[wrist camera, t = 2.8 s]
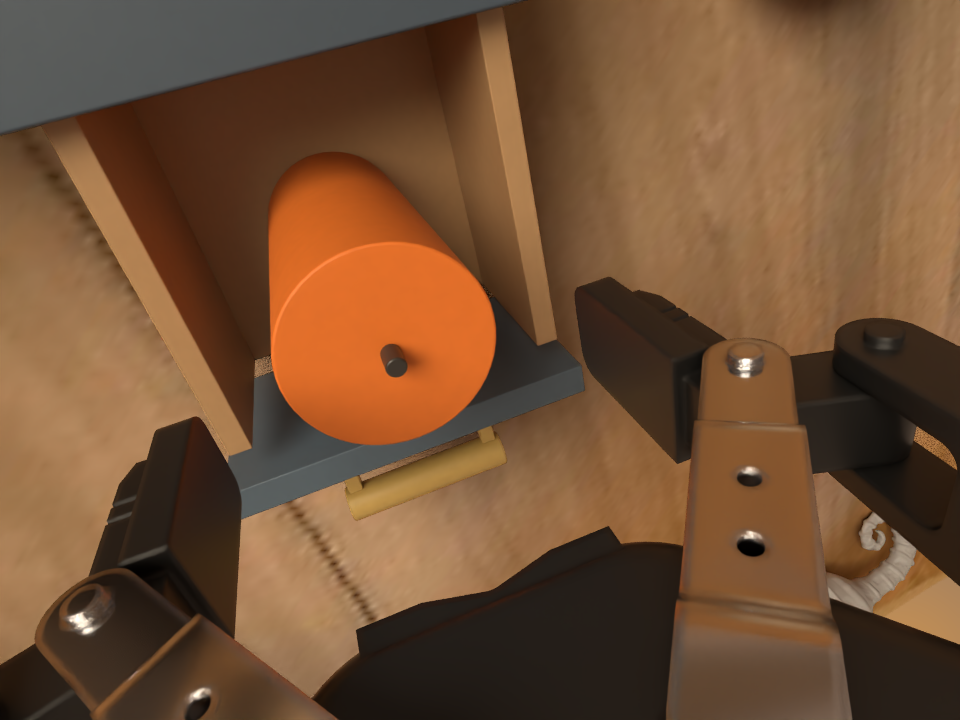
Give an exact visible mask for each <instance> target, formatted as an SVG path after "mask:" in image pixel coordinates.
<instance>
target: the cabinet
mask: <svg viewBox="0 0 960 720" xmlns="http://www.w3.org/2000/svg"><path fill="white" fill-rule="evenodd" d="M523 1H527V0H0V136H2V135H6V134H10V133H13V132H17V131H21V130H25V129H29V128H33V127H37V126H41V125H44V124H48V123H52V122H56V121H60V120H64V119H68V118H72V117H76V116H79V115H83V114H87V113H91V112H95V111H99V110H103V109H107V108H111V107H114V106H118V105H122V104H126V103H130V102H134V101H138V100H142V99H146V98H149V97H153V96H157V95H161V94H165V93H169V92H173V91H177V90H181V89H184V88H188V87H192V86H196V85H200V84H204V83H208V82H212V81H216V80H219V79H223V78H227V77H231V76H235V75H239V74H243V73H247V72H251V71H254V70H258V69H262V68H266V67H270V66H274V65H278V64H282V63H286V62H289V61H293V60H297V59H301V58H305V57H309V56H313V55H317V54H321V53H324V52H328V51H332V50H336V49H340V48H344V47H348V46H352V45H356V44H359V43H363V42H367V41H371V40H375V39H379V38H383V37H387V36H390V35H394V34H398V33H402V32H406V31H410V30H414V29H418V28H422V27H425V26H429V25H433V24H437V23H441V22H445V21H449V20H453V19H457V18H460V17H464V16H468V15H472V14H476V13H480V12H484V11H488V10H492V9H495V8H499V7H503V6H507V5H511V4H515V3H519V2H523Z"/></svg>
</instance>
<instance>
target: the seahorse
mask: <svg viewBox="0 0 960 720" xmlns="http://www.w3.org/2000/svg"><path fill="white" fill-rule="evenodd" d="M883 522H885V521H884V520H882V519H881V518H880V517H879V516H878V515H877V514H875V513H874V512H872V513H871V515H870V516H869V517H868V518H867V519H866V520H863V526H862V529H861V530H860V531H859V535H860V539H861V545H862V547H863V548H865V549H867V550H877V551H878V550H880V549H881V547H882V546H883V545H884V543H885V541H886V539H885V535H884V533H883V532H882V531H881V530H876V532H877V533H878V537H877V541H875V540H874V539H872V534H873V531H872V530H873V529H875V528H876V525H877V524H878V523H880V524H881V523H883ZM891 531H892V533H893V534H894V536H893V537H892V540H893V541H894V545H893V547H892V548H890V549H889V551H890V554H889V557H888V558H887V559H886V560H884V561H881V562H880V564H879V566H878V567H877V568H876V569H873V570H871V571H869V574H868V575H866V576H864V577H861V578H854V579H853V580H848V579H846V578H844V577H842V576H839V575H835V574H832V573H828V572H826V577H827V585H828V592H829V597H830V598H832V599H835V600H838V601H841V602H843V603H846V604H849V605H852V606H854V607H857V608H860V609H863V610H866V611H868V612H871V613H873V606H874V604H875V603H876V602H877V601H879V600H881V597H882V596H883V595H884V594H885V593H887V592H889V591H890V590H895V586H896V585H897V584H898V582H900V581H903V580H905V576H906V574H907V573H908V571H909V569H910V567H911V566H913V565H914V561H913V559H914V557H915V554H916V550H917V549H916V548H915V547H914V546H912V545H911V544H910V543H909V542H908V541H907V540H906V539H904V538H903V537H902V536H901V535H900V534H899V533H897V532H896V531H895V530H894V529H893V528H892V527H891Z"/></svg>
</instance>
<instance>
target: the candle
mask: <svg viewBox="0 0 960 720" xmlns="http://www.w3.org/2000/svg"><path fill="white" fill-rule="evenodd" d="M268 239H269V285H270V332H271V360H272V367H273V372H274V376H275V379H276V382H277V384H278V387H279V389H280V391H281V393H282V395H283V396H284V398H285V400H286V401H287V403H288V404H289V405H290V406H291V408H292V409H293V410H294V411H295V412H296V413H297V414H298V415H299V416H300V417H301V418H302V419H303V420H304V421H305V422H307V423H308V424H310V425H311V426H312V427H314V428H315V429H317V430H319V431H321V432H322V433H324V434H326V435H328V436H331V437H334V438H336V439H339V440H342V441H346V442H350V443H355V444H363V445H387V444H395V443H400V442H405V441H409V440H412V439H415V438H419V437H421V436H423V435H426V434H428V433H430V432H433V431H434V430H436V429H438V428H440V427H441V426H443V425H445V424H446V423H447V422H449V421H450V420H452V419H453V418H454V417H456V416H457V415H458V414H459V413H460V412H461V411H462V410H463V409H465V407H466V406H467V405H468V404H469V403H470V402H471V401H472V400H473V398H474V397H475V396H476V394H477V393H478V391H479V390H480V389H481V387H482V385H483V383H484V381H485V380H486V378H487V375H488V373H489V370H490V368H491V365H492V361H493V358H494V354H495V346H496V323H495V317H494V313H493V309H492V306H491V303H490V301H489V298H488V296H487V294H486V292H485V290H484V289H483V287H482V286H481V284H480V283H479V281H478V280H477V279H476V278H475V276H474V275H473V274H472V273H471V272H470V271H469V270H468V268H467V267H466V266H465V265H464V264H463V263H462V262H461V261H460V259H459V258H458V257H457V256H456V255H455V254H454V253H453V251H452V250H451V249H450V248H449V247H448V246H447V245H446V244H445V242H444V241H443V240H442V239H441V238H440V237H439V236H438V234H437V233H436V232H435V231H434V230H433V229H432V228H431V226H430V225H429V224H428V223H427V222H426V221H425V220H424V219H423V217H422V216H421V215H420V214H419V213H418V212H417V211H416V209H415V208H414V207H413V206H412V205H411V204H410V203H409V202H408V200H407V199H406V198H405V197H404V196H403V195H402V194H401V192H400V191H399V190H398V189H397V188H396V187H395V186H394V185H393V183H392V182H391V181H390V180H389V179H388V178H387V177H386V176H385V174H384V173H383V172H382V171H381V170H380V169H378V168H377V167H376V166H375V165H373V164H372V163H370V162H369V161H367V160H365V159H363V158H361V157H359V156H356V155H353V154H349V153H344V152H322V153H318V154H314V155H311V156H308V157H305V158H304V159H302V160H300V161H298V162H296V163H295V164H294V165H292V166H291V167H290V168H289V169H288V170H287V171H286V172H285V173H284V174H283V175H282V176H281V178H280V179H279V180H278V182H277V184H276V185H275V187H274V189H273V192H272V194H271V197H270V202H269V208H268Z"/></svg>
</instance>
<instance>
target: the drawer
mask: <svg viewBox="0 0 960 720" xmlns="http://www.w3.org/2000/svg"><path fill="white" fill-rule="evenodd" d="M41 127H42V128H43V130H44V132H45V134H46V135H47V137H48V139H49V141H50V142H51V144H52V146H53V148H54V149H55V151H56V153H57V155H58V156H59V158H60V160H61V162H62V163H63V165H64V167H65V169H66V170H67V172H68V174H69V176H70V177H71V179H72V181H73V183H74V184H75V186H76V188H77V190H78V191H79V193H80V195H81V197H82V199H83V200H84V202H85V204H86V206H87V207H88V209H89V211H90V213H91V214H92V216H93V218H94V220H95V221H96V223H97V225H98V227H99V228H100V230H101V232H102V234H103V235H104V237H105V239H106V241H107V242H108V244H109V246H110V248H111V249H112V251H113V253H114V255H115V256H116V258H117V260H118V262H119V263H120V265H121V267H122V269H123V271H124V272H125V274H126V276H127V278H128V279H129V281H130V283H131V285H132V286H133V288H134V290H135V292H136V293H137V295H138V297H139V299H140V300H141V302H142V304H143V306H144V307H145V309H146V311H147V313H148V314H149V316H150V318H151V320H152V321H153V323H154V325H155V327H156V328H157V330H158V332H159V334H160V335H161V337H162V339H163V341H164V343H165V344H166V346H167V348H168V350H169V351H170V353H171V355H172V357H173V358H174V360H175V362H176V364H177V365H178V367H179V369H180V371H181V372H182V374H183V376H184V378H185V379H186V381H187V383H188V385H189V386H190V388H191V390H192V392H193V393H194V395H195V397H196V399H197V400H198V402H199V404H200V406H201V407H202V409H203V411H204V413H205V415H206V416H207V418H208V420H209V422H210V423H211V425H212V427H213V429H214V430H215V432H216V434H217V436H218V437H219V439H220V441H221V443H222V444H223V446H224V448H225V450H226V451H227V453H228V455H229V458H228V465H229V467H230V469H231V470H232V472H233V474H234V476H235V478H236V480H237V483H238V486H239V489H240V493H241V499H242V511H241V519H244V518H246V517H249V516H252V515H254V514H257V513H260V512H262V511H265V510H268V509H270V508H273V507H276V506H278V505H281V504H284V503H286V502H289V501H292V500H294V499H297V498H300V497H302V496H305V495H308V494H310V493H313V492H316V491H318V490H321V489H324V488H326V487H329V486H332V485H334V484H337V483H340V482H342V481H344V482H345V484H346V486H347V487H346V488H345V495H346V499H347V502H348V505H349V508H350V511H351V513H352V516H353V518H354V519H355V520H356V521H358V520H361V519H363V518H366V517H368V516H371V515H373V514H376V513H379V512H381V511H384V510H386V509H389V508H392V507H394V506H397V505H399V504H402V503H404V502H407V501H410V500H412V499H415V498H417V497H420V496H423V495H425V494H428V493H430V492H433V491H435V490H438V489H441V488H443V487H446V486H448V485H451V484H454V483H456V482H459V481H461V480H464V479H466V478H469V477H472V476H474V475H477V474H479V473H482V472H484V471H487V470H490V469H492V468H495V467H497V466H500V465H503V464H505V463H507V457H506V454H505V450H504V447H503V445H502V442H501V440H500V438H499V436H498V434H497V433H496V432H493V428H492V425H494V424H497V423H500V422H502V421H505V420H508V419H510V418H513V417H516V416H518V415H521V414H524V413H526V412H529V411H532V410H534V409H537V408H540V407H542V406H545V405H548V404H550V403H553V402H556V401H558V400H561V399H564V398H566V397H569V396H572V395H574V394H577V393H580V392H582V391H585V386H584V379H583V373H582V366H581V364H580V363H579V362H578V361H577V360H576V359H575V358H574V357H573V356H572V355H571V354H570V353H569V352H568V351H567V350H566V349H565V348H564V347H563V346H562V345H561V344H560V343H559V342H558V341H557V340H556V339H557V334H556V328H555V322H554V316H553V310H552V304H551V298H550V292H549V285H548V279H547V273H546V267H545V261H544V255H543V249H542V243H541V237H540V231H539V225H538V219H537V213H536V206H535V200H534V194H533V188H532V182H531V176H530V170H529V164H528V158H527V152H526V146H525V140H524V134H523V127H522V121H521V115H520V109H519V103H518V97H517V91H516V85H515V79H514V73H513V67H512V61H511V55H510V48H509V42H508V36H507V30H506V24H505V18H504V12H503V7H499V8H495V9H492V10H488V11H484V12H480V13H476V14H472V15H468V16H464V17H460V18H457V19H453V20H449V21H445V22H441V23H437V24H433V25H429V26H425V27H422V28H418V29H414V30H410V31H406V32H402V33H398V34H394V35H390V36H387V37H383V38H379V39H375V40H371V41H367V42H363V43H359V44H356V45H352V46H348V47H344V48H340V49H336V50H332V51H328V52H324V53H321V54H317V55H313V56H309V57H305V58H301V59H297V60H293V61H289V62H286V63H282V64H278V65H274V66H270V67H266V68H262V69H258V70H254V71H251V72H247V73H243V74H239V75H235V76H231V77H227V78H223V79H219V80H216V81H212V82H208V83H204V84H200V85H196V86H192V87H188V88H184V89H181V90H177V91H173V92H169V93H165V94H161V95H157V96H153V97H149V98H146V99H142V100H138V101H134V102H130V103H126V104H122V105H118V106H114V107H111V108H107V109H103V110H99V111H95V112H91V113H87V114H83V115H79V116H76V117H72V118H68V119H64V120H60V121H56V122H52V123H48V124H44V125H41ZM322 152H344V153H349V154H353V155H356V156H359V157H361V158H363V159H365V160H367V161H369V162H370V163H372V164H373V165H375V166H376V167H377V168H378V169H380V170H381V171H382V172H383V173H384V174H385V176H386V177H387V178H388V179H389V180H390V181H391V182H392V183H393V185H394V186H395V187H396V188H397V189H398V190H399V191H400V192H401V194H402V195H403V196H404V197H405V198H406V199H407V200H408V202H409V203H410V204H411V205H412V206H413V207H414V208H415V209H416V211H417V212H418V213H419V214H420V215H421V216H422V217H423V219H424V220H425V221H426V222H427V223H428V224H429V225H430V226H431V228H432V229H433V230H434V231H435V232H436V233H437V234H438V236H439V237H440V238H441V239H442V240H443V241H444V242H445V244H446V245H447V246H448V247H449V248H450V249H451V250H452V251H453V253H454V254H455V255H456V256H457V257H458V258H459V259H460V261H461V262H462V263H463V264H464V265H465V266H466V267H467V268H468V270H469V271H470V272H471V273H472V274H473V275H474V276H475V278H476V279H477V280H478V281H479V283H480V284H483V285H484V286H485V287H486V288H487V289H488V290H489V291H490V293H491V294H492V295H493V296H494V297H493V298H490V299H489V301H490V303H491V306H492V309H493V313H494V317H495V323H496V346H495V354H494V358H493V361H492V365H491V368H490V370H489V373H488V375H487V378H486V380H485V381H484V383H483V385H482V387H481V389H480V390H479V391H478V393H477V394H476V396H475V397H474V398H473V400H472V401H471V402H470V403H469V404H468V405H467V406H466V407H465V409H463V410H462V411H461V412H460V413H459V414H458V415H457V416H456V417H454V418H453V419H452V420H450V421H449V422H447V423H446V424H445V425H443V426H441V427H440V428H438V429H436V430H434V431H433V432H430V433H428V434H426V435H423V436H421V437H419V438H415V439H412V440H409V441H405V442H400V443H395V444H387V445H363V444H355V443H350V442H346V441H342V440H339V439H336V438H334V437H331V436H328V435H326V434H324V433H322V432H321V431H319V430H317V429H315V428H314V427H312V426H311V425H310V424H308V423H307V422H305V421H304V420H303V419H302V418H301V417H300V416H299V415H298V414H297V413H296V412H295V411H294V410H293V409H292V408H291V406H290V405H289V404H288V403H287V401H286V400H285V398H284V396H283V395H282V393H281V391H280V389H279V387H278V384H277V382H276V379H275V376H274V372H271V373H268V374H265V375H262V376H259V377H257V378H254V375H255V360H257V359H260V358H263V357H266V356H269V355H271V332H270V285H269V239H268V208H269V202H270V197H271V194H272V192H273V189H274V187H275V185H276V184H277V182H278V180H279V179H280V178H281V176H282V175H283V174H284V173H285V172H286V171H287V170H288V169H289V168H290V167H291V166H292V165H294V164H295V163H296V162H298V161H300V160H302V159H304V158H305V157H308V156H311V155H314V154H318V153H322ZM476 431H478V435H479V437H478V438H476V439H473V440H470V441H468V442H465V443H462V444H460V445H457V446H454V447H452V448H449V449H446V450H444V451H441V452H438V453H436V454H433V455H431V456H428V457H425V458H423V459H420V460H417V461H415V462H412V463H409V464H407V465H404V466H401V467H399V468H396V469H393V470H391V471H388V472H385V473H383V474H380V475H378V476H375V477H372V478H370V479H367V480H364V481H362V480H361V478H360V476H359V475H361V474H364V473H366V472H369V471H372V470H374V469H377V468H380V467H382V466H385V465H388V464H390V463H393V462H396V461H398V460H401V459H404V458H406V457H409V456H412V455H414V454H417V453H420V452H422V451H425V450H428V449H430V448H433V447H436V446H438V445H441V444H444V443H446V442H449V441H452V440H454V439H457V438H460V437H462V436H465V435H468V434H470V433H473V432H476Z"/></svg>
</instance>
